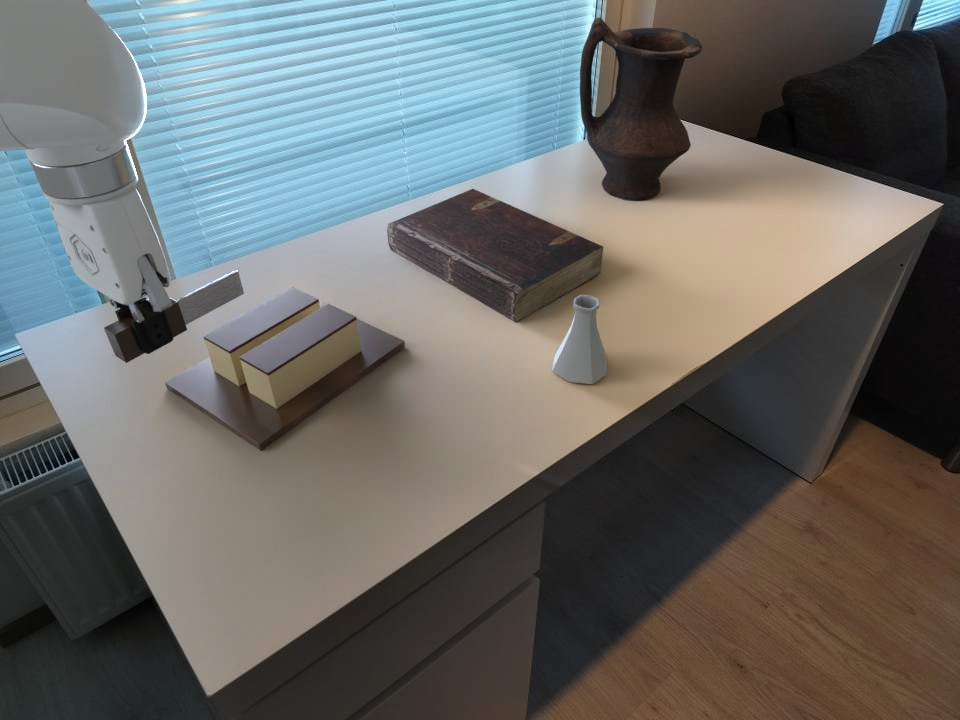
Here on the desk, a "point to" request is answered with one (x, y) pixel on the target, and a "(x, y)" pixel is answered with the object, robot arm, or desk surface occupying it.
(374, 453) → the desk surface
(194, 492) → the desk surface
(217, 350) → the cake
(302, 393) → the cake board
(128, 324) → the knife
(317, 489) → the desk surface
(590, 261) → the hardback book
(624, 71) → the jug
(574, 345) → the flask
